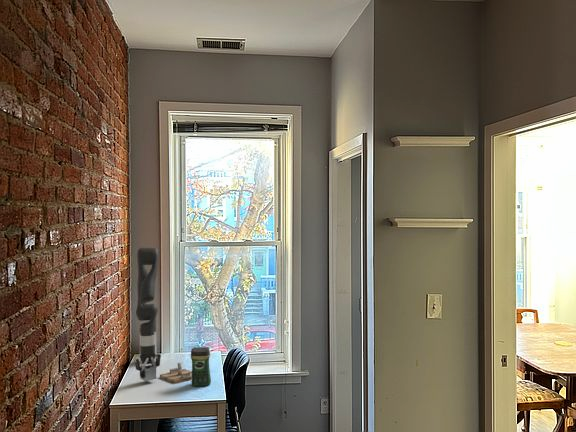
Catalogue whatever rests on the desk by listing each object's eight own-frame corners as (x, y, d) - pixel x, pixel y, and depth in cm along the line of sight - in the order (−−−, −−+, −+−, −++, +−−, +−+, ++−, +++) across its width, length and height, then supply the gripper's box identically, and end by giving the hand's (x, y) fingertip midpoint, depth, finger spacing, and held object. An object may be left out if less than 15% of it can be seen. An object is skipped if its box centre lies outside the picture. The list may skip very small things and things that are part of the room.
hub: (140, 378, 288) (139, 367, 287) (150, 376, 291) (150, 364, 291) (145, 381, 283) (145, 369, 283) (156, 378, 287) (155, 367, 287)
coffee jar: (211, 382, 286) (211, 345, 286) (209, 386, 278) (208, 349, 278) (192, 382, 286) (192, 345, 286) (189, 387, 279) (189, 349, 278)
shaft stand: (159, 377, 295) (159, 363, 295) (184, 371, 306) (184, 357, 305) (175, 383, 284) (174, 368, 284) (200, 377, 295) (199, 363, 294)
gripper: (156, 339, 295) (156, 372, 295) (130, 344, 285) (131, 378, 285) (163, 342, 289) (164, 375, 289) (138, 347, 279) (138, 381, 280)
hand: (148, 376), depth 287 cm, fingers closed on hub, 5 cm apart
